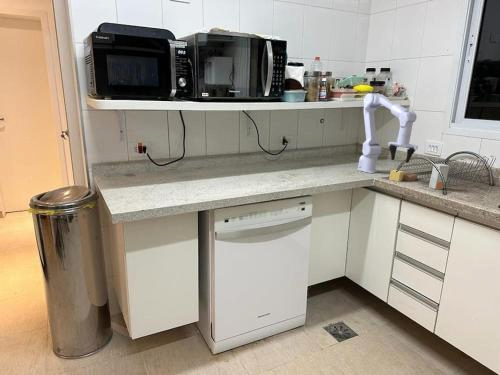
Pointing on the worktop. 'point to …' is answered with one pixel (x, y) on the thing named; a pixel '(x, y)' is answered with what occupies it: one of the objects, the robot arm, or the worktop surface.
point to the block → (396, 175)
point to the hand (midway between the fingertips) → (399, 161)
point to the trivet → (409, 176)
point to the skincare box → (438, 176)
